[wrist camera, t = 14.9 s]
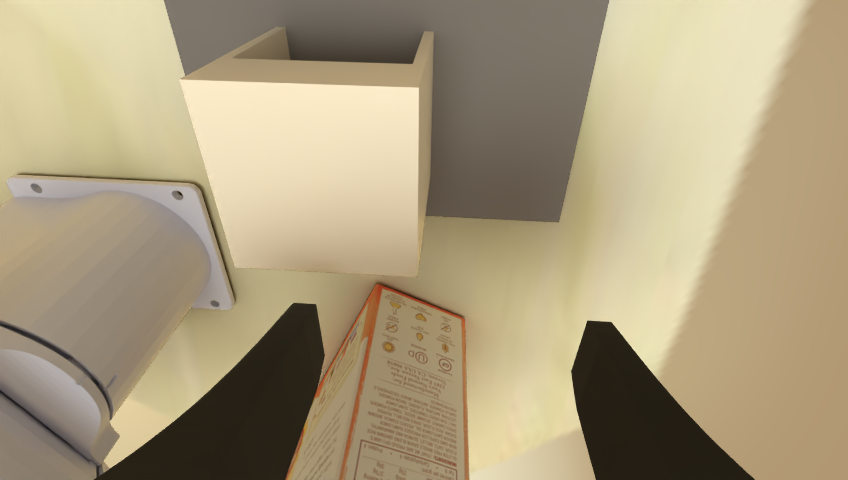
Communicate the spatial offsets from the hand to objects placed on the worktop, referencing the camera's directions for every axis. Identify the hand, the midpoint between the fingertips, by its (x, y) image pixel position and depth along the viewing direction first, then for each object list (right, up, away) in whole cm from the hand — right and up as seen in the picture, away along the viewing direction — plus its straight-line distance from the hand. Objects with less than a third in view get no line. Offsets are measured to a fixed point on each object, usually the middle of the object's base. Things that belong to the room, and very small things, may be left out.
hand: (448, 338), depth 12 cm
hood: (-3, +8, +6) cm, 11 cm away
